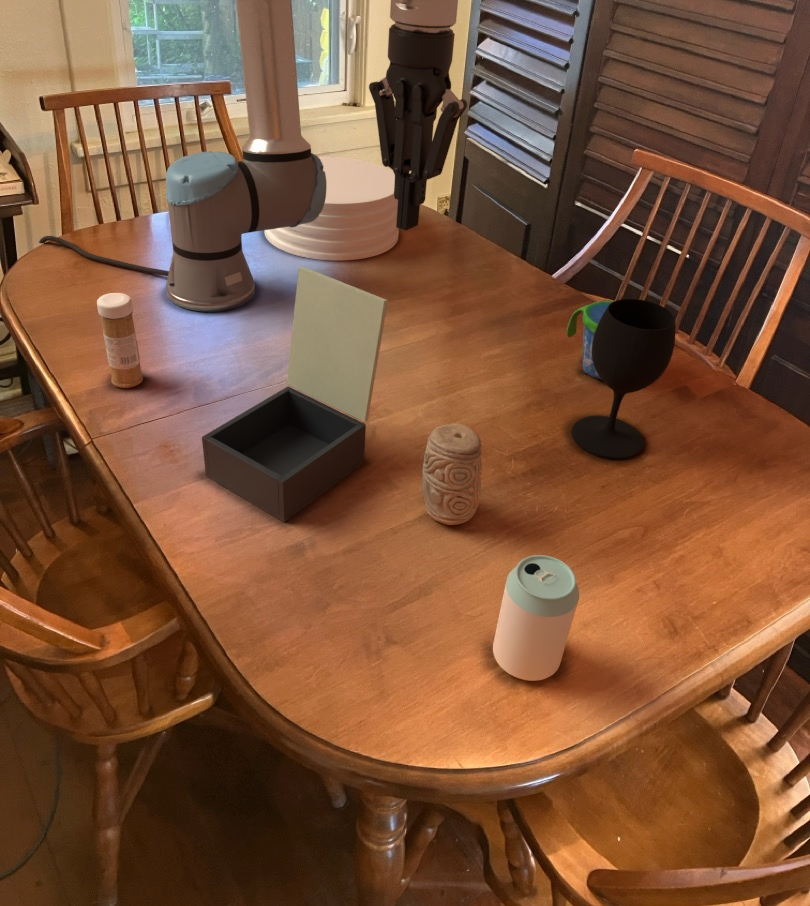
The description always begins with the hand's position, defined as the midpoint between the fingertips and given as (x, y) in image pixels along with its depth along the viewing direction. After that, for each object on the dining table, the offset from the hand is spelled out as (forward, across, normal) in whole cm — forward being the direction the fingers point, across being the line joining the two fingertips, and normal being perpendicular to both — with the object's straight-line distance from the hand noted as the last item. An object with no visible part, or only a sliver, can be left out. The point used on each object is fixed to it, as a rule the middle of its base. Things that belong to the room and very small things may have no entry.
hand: (407, 226), depth 105 cm
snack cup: (+27, +22, +28) cm, 45 cm away
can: (+27, +40, -31) cm, 57 cm away
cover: (+12, 0, -15) cm, 19 cm away
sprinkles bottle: (+27, -32, -24) cm, 48 cm away
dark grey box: (+26, 0, -24) cm, 36 cm away
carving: (+27, +21, -17) cm, 38 cm away
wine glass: (+27, +30, +11) cm, 42 cm away
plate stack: (+27, -47, +41) cm, 68 cm away
